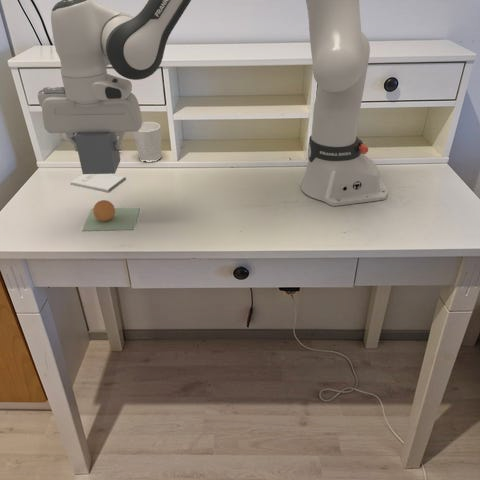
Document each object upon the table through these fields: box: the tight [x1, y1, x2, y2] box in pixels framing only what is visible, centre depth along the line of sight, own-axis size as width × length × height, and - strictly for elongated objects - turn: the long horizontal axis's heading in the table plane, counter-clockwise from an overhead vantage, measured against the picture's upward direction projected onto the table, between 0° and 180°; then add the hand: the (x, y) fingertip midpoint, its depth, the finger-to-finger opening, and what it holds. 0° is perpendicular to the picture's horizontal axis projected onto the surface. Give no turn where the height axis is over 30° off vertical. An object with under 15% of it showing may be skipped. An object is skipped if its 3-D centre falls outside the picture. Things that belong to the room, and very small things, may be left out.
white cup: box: [133, 121, 163, 161], centre depth 139 cm, size 8×8×10 cm
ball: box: [92, 199, 116, 221], centre depth 112 cm, size 5×5×5 cm
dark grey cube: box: [74, 132, 121, 175], centre depth 103 cm, size 7×7×9 cm
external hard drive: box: [70, 173, 127, 194], centre depth 129 cm, size 2×8×12 cm
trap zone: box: [81, 207, 141, 232], centre depth 113 cm, size 12×10×1 cm
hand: (99, 150), depth 103 cm, fingers closed on dark grey cube, 7 cm apart
